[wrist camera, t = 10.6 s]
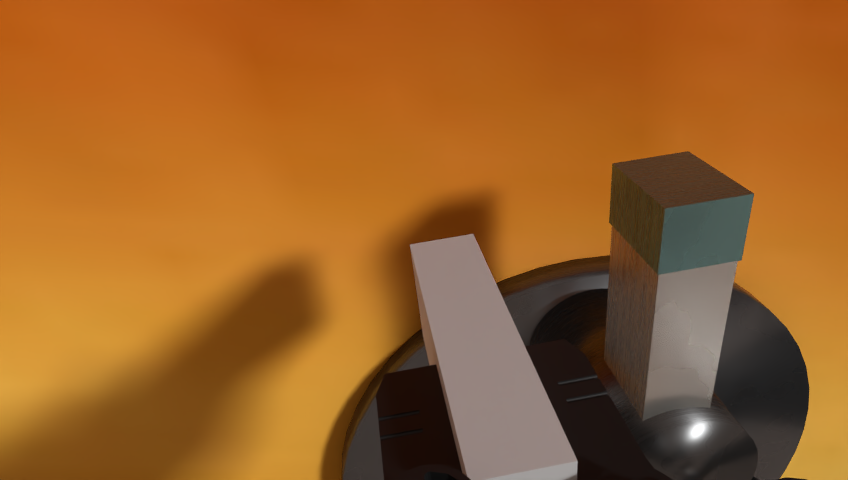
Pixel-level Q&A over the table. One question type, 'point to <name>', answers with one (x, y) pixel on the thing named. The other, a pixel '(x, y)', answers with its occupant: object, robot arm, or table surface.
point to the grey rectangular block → (667, 314)
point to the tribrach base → (734, 385)
